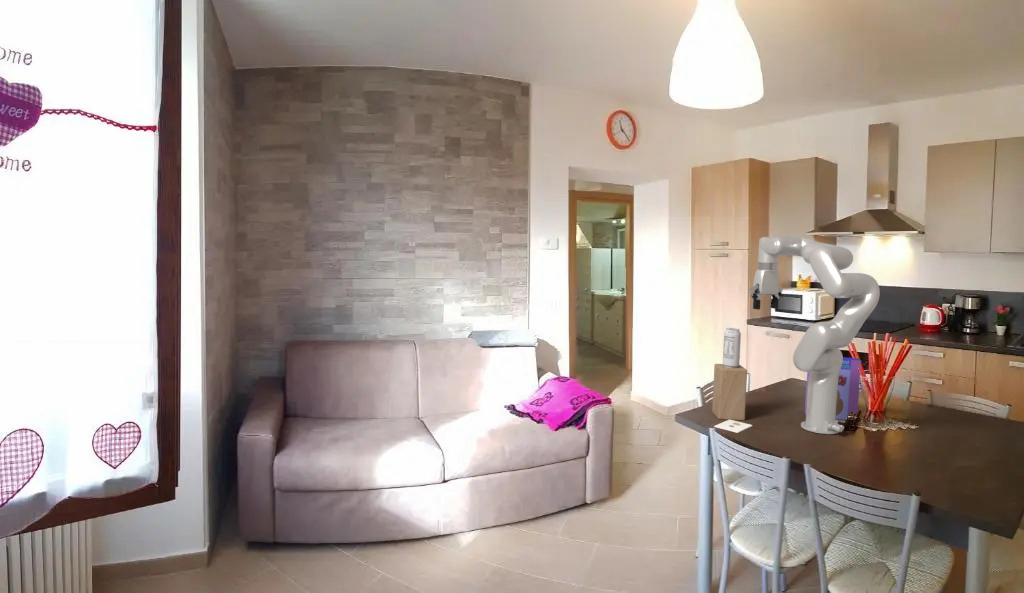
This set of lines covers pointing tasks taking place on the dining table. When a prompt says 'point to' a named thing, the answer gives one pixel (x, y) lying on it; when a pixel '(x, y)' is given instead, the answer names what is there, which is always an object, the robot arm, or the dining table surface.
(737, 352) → the energy drink can
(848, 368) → the cereal box
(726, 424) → the white printed card
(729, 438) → the dining table surface
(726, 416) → the wooden block
